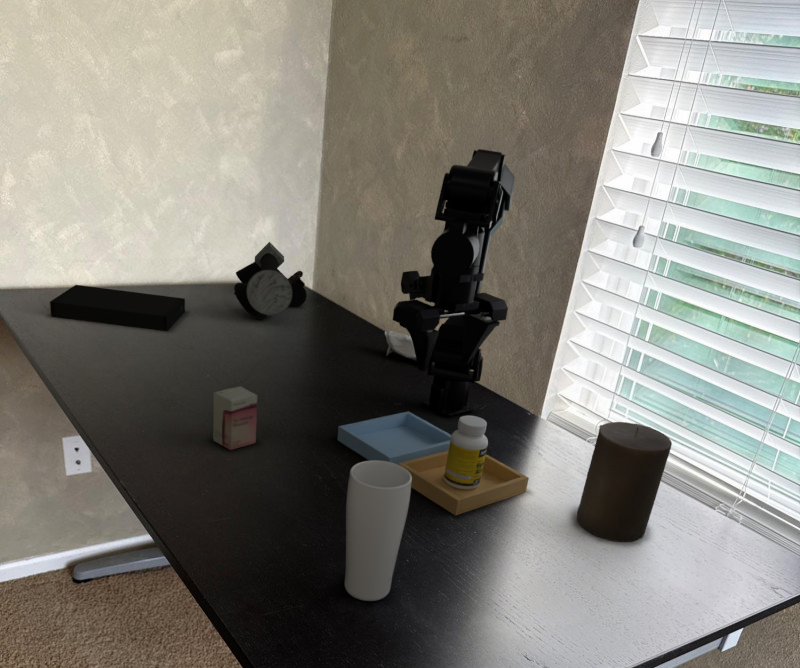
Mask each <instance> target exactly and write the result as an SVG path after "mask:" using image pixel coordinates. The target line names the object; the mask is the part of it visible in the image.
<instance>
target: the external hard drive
mask: <svg viewBox="0 0 800 668" xmlns="http://www.w3.org/2000/svg"><path fill="white" fill-rule="evenodd" d="M49 308H50V316H51V317H53V318H54V317H55V318H60V319H61V318H62V319H71V320H78V321H87V322H94V323H102V324H109V325H117V326H118V325H119V326H126V327H133V328H143V329H150V330H159V331H166V332H168V331H169V330H170V329H171V328H172V327H173V326H174V325H175V324H176V322H177V321H179V319H180V318H181V317H182V316H183V315H184V314H185V313H186V299H185V297H176V296H168V295H167V296H166V295H160V294H152V293H144V292H135V291H127V290H120V289H113V288H106V287H105V288H104V287H97V286H89V285H81V284H74V285H73V286H71V287H70V288H68V289H67V290H66V291H64V292H62V293H60V294H59V295H57V296H56V297H55V298H53V299H52V300H50V301H49Z"/></svg>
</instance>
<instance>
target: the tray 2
mask: <svg viewBox="0 0 800 668" xmlns="http://www.w3.org/2000/svg"><path fill="white" fill-rule="evenodd" d="M448 451H449V450H447V451H443V452H440V453H436V454H432V455H428V456H425V457H421V458H417V459H413V460H409V461H406V462H403V463H399V464H398V465H400V466H402V467H404V468H405V469H406V470H408V471H409V472H410V474H411V476H412V483H411V489H413V490H415V491H416V492H417V493H419V494H420V495H423V496H424V497H425V498H427V499H429V500H430V501H432V502H434V503H435V504H436V505H438V506H440V507H441V508H443V509H444V510H445V511H448V512H449V513H451V514H452V515H454V516H458V515H462V514H465V513H467V512H470V511H473V510H477V509H479V508H482V507H485V506H489V505H491V504H495V503H497V502H501V501H503V500H507V499H509V498H513V497H515V496H518V495H521V494H524V493H527V488H528V483H529V480H530V477H528V476H526V475H525V474H523V473H521V472H520V471H517V469H516V470H515V468H512V467H510V466H508V465H506V464H505V463H503V462H501V461H500V460H498V459H496V458H494V457H492V456H490V455H488V454H487V453H486V456H485V461H484V466H483V470H482V475H481V480H480V484H479V486H478V487H476V488H475V489H470V490H464V489H458V488H454V487H452V486H450V485H448V484H447V483H446V482H445V480H444V473H445V467H446V462H447V456H448Z"/></svg>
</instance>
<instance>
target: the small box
mask: <svg viewBox="0 0 800 668" xmlns="http://www.w3.org/2000/svg"><path fill="white" fill-rule="evenodd" d="M212 413H213V417H212V418H213V419H212V421H213V422H212V423H213V425H212V426H213V427H212V429H213V430H212V433H213V434H212V436H213V437H212V439H213V440H212V441H213V442H215V443H217V444H219V445H220V446H222V447H224V448H226V449H228V450H230V451H232V450H235V449H239V448H243V447H247V446H250V445H253V444H256V443H257V419H258V418H257V417H258V416H257V414H258V394H256V393H254V392H252V391H250V390H248V389H246V388H245V387H243V386H235V387H230V388H226V389H222V390H217V391H213V412H212Z"/></svg>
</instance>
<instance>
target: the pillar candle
mask: <svg viewBox="0 0 800 668" xmlns="http://www.w3.org/2000/svg"><path fill="white" fill-rule="evenodd" d="M598 428H599V429H598V434H597V437H596V441H595V445H594V449H593V452H592V455H591V459H590V463H589V466H588V469H587V474H586V478H585V482H584V486H583V488H582V489H583V490H582V493H581V497H580V502H579V505H578V507H577V512H576V519H577V523H578V524H579V525H580V527H582V528H584V529H585V530H586V531H588V532H590V533H591V534H593V535H594V536H596V537H599V538H602V539H605V540H608V541H613V542H614V541H615V542H634V541H638V540H639V539H641V538H643V537H644V535H645V534H646V530H647V528H648V524H649V522H650V521H649V520H650V518H651V514H652V511H653V508H654V505H655V502H656V498H657V495H658V491H659V487H660V486H661V481H662V478H663V474H664V471H665V468H666V465H667V461H668V459H669V455H670V452H671V450H672V445H673V444H672V440H671V439H670V437H669V436H667V435H666V434H664V433H663V432H661V431H659V430H657V429H655V428H653V427H651V426H646V425H643V424H640V423H631V422H627V421H614V422H613V421H610V422H607V423H604V424H600V425H599V426H598Z"/></svg>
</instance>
